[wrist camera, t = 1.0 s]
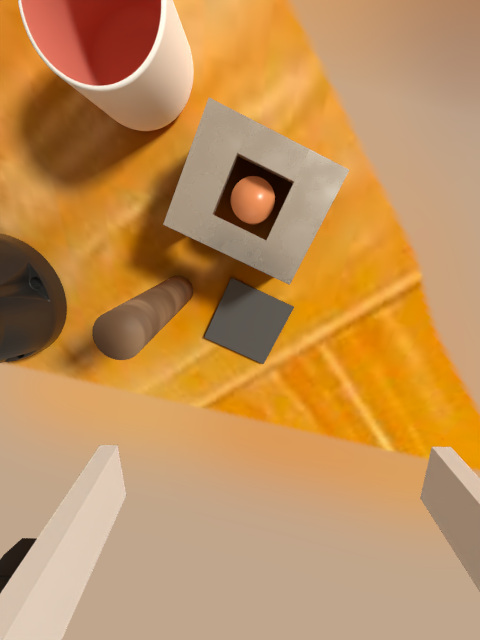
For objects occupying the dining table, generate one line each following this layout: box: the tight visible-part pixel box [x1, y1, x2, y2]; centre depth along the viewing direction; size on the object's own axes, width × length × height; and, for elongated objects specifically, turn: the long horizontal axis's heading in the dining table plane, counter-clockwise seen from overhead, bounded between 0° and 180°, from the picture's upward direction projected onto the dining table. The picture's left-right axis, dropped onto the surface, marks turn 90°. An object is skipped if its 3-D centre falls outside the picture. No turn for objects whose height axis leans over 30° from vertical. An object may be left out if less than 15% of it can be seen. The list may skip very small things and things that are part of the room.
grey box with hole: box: [163, 98, 349, 285], centre depth 28 cm, size 12×10×8 cm
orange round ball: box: [231, 176, 275, 224], centre depth 28 cm, size 4×4×4 cm
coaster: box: [204, 278, 294, 364], centre depth 35 cm, size 8×8×1 cm
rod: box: [93, 276, 193, 360], centre depth 27 cm, size 3×3×16 cm
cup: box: [18, 0, 193, 131], centre depth 24 cm, size 10×10×10 cm
